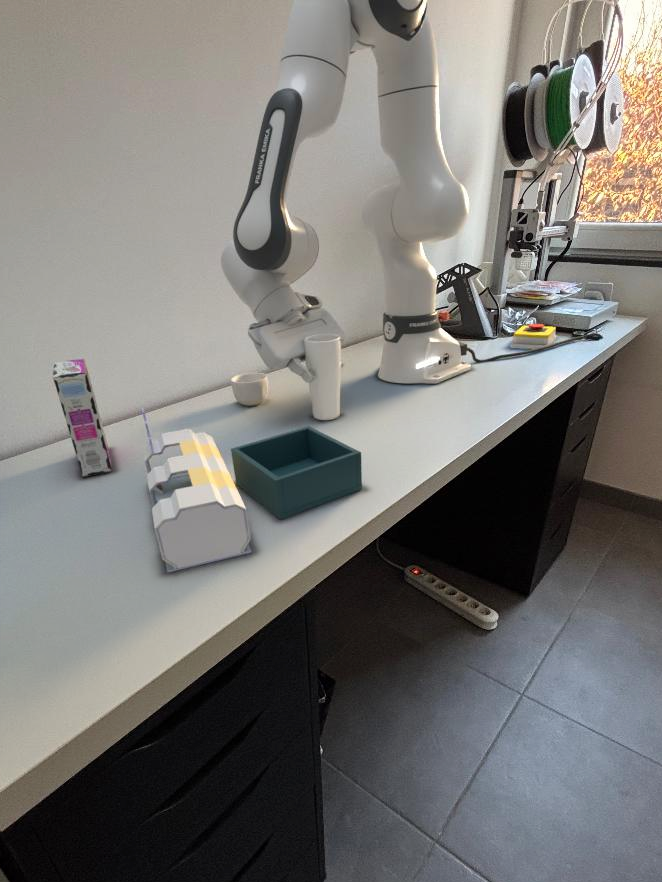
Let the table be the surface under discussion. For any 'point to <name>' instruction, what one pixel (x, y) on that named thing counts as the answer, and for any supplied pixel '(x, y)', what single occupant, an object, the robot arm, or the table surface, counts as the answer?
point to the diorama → (195, 502)
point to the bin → (297, 470)
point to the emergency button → (533, 336)
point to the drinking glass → (324, 374)
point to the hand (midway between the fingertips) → (326, 374)
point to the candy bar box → (82, 416)
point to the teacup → (250, 388)
